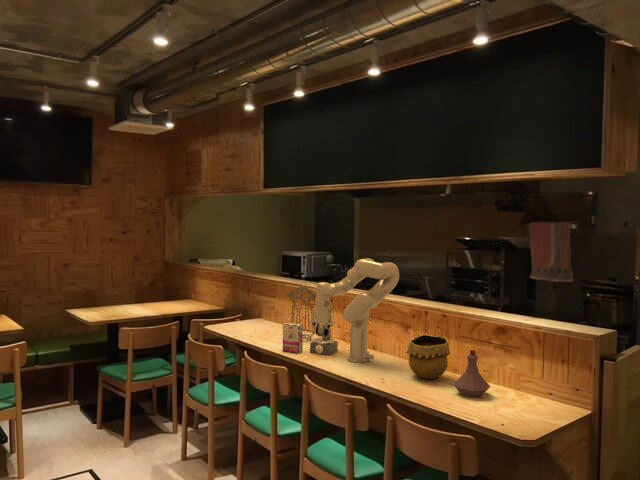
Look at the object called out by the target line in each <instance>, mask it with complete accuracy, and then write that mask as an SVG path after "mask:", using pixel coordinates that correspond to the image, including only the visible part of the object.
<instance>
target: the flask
mask: <svg viewBox="0 0 640 480" xmlns="http://www.w3.org/2000/svg"><path fill="white" fill-rule="evenodd" d="M466 358H467V365H466V368H465V371H464V372H463V374H462V375H461V376H460V377H459V378H458V379H457V380H455V381H454V383H452V384H453V386H454V387H455V389H456V390H457V391H458V392H459V394H460V395H462V396H463V397H465V398H471V399H476V398H477V399H478V398H479V399H480V398H481V397H482V396H483V395H484V394H485V393H486V392H487V391H488V390H489V389H490V388H491V385H490V384H489V383H488V382H487V381H486V380H485V378H484V377H483V376H482V375H481V374H480V372H479V371H480V370H479V368H478V362H477V361H478V359H479V356H478V355H477V354H476V350H475V349H470V350H469V354H468V355H467V356H466Z"/></svg>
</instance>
